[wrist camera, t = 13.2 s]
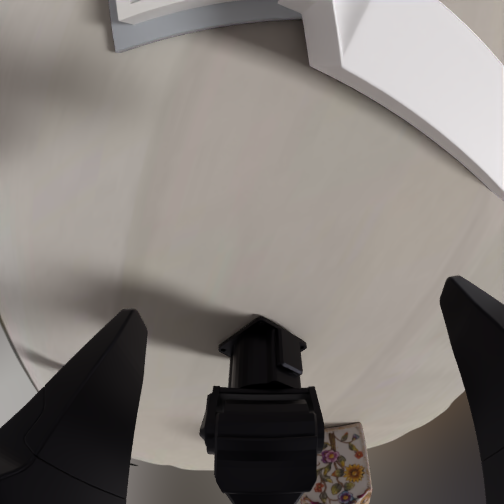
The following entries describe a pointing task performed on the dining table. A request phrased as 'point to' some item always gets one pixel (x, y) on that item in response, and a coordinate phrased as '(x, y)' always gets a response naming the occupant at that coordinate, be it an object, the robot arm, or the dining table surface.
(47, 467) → the robot arm
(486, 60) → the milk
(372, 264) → the dining table surface
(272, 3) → the socket plate
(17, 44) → the dining table surface
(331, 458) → the decorative jar
